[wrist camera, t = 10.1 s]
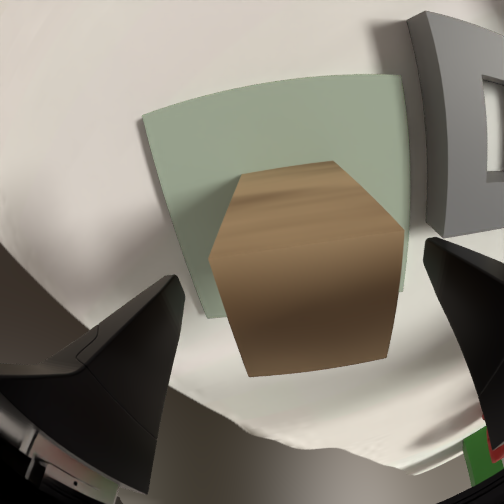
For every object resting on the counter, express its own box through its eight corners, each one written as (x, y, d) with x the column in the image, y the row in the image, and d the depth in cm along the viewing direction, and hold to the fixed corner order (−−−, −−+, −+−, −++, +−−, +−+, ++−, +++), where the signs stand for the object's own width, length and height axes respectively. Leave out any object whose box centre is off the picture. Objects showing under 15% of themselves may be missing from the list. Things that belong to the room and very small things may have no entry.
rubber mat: (399, 286, 17) (402, 291, 16) (208, 312, 18) (207, 318, 18) (395, 75, 10) (400, 75, 10) (146, 114, 12) (142, 115, 12)
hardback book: (484, 437, 41) (500, 500, 20) (462, 450, 43) (476, 514, 22) (489, 423, 34) (510, 501, 13) (463, 439, 37) (481, 518, 16)
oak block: (340, 242, 15) (386, 357, 8) (258, 254, 15) (248, 377, 8) (333, 160, 13) (404, 230, 6) (241, 174, 13) (208, 258, 6)
